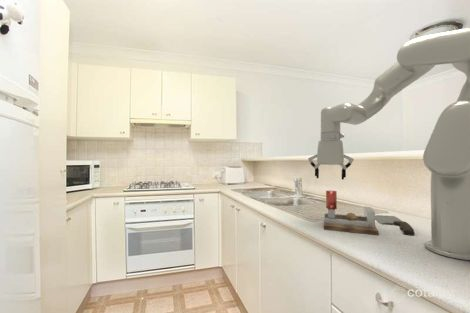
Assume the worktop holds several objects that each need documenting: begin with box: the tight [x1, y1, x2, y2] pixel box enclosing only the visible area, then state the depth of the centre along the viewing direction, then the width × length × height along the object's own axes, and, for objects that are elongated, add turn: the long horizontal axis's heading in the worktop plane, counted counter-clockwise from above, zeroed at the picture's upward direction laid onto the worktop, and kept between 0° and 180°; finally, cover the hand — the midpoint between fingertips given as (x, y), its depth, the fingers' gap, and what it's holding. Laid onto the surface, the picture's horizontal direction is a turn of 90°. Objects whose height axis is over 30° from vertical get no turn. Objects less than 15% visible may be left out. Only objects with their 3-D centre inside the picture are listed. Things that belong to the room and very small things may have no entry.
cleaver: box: [375, 214, 415, 236], centre depth 95 cm, size 29×10×2 cm, turn 161°
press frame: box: [323, 206, 376, 228], centre depth 92 cm, size 18×10×6 cm, turn 67°
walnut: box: [345, 212, 357, 221], centre depth 91 cm, size 4×4×4 cm
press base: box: [323, 223, 380, 236], centre depth 91 cm, size 18×16×2 cm
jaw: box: [325, 190, 338, 219], centre depth 94 cm, size 4×7×12 cm, turn 157°
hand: (329, 178), depth 95 cm, fingers open, 9 cm apart
